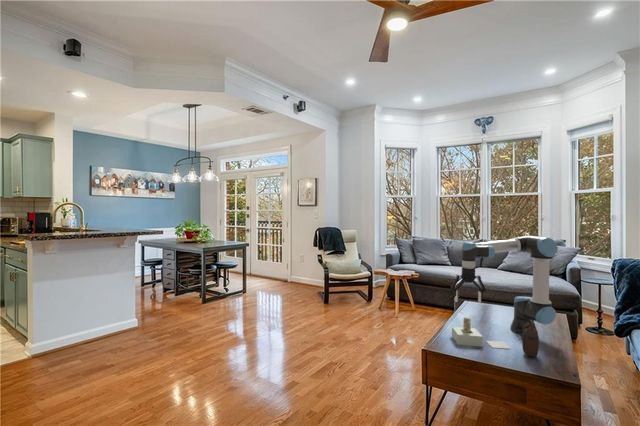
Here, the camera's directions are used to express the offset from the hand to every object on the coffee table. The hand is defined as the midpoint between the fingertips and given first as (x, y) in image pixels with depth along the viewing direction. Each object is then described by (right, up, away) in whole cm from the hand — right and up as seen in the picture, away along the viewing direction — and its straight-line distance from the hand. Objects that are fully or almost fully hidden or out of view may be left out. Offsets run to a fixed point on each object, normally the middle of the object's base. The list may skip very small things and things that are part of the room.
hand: (467, 302), depth 205 cm
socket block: (-1, -24, 0) cm, 24 cm away
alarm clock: (+25, -25, -20) cm, 41 cm away
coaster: (+16, -24, -5) cm, 29 cm away
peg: (-1, -24, 0) cm, 24 cm away
